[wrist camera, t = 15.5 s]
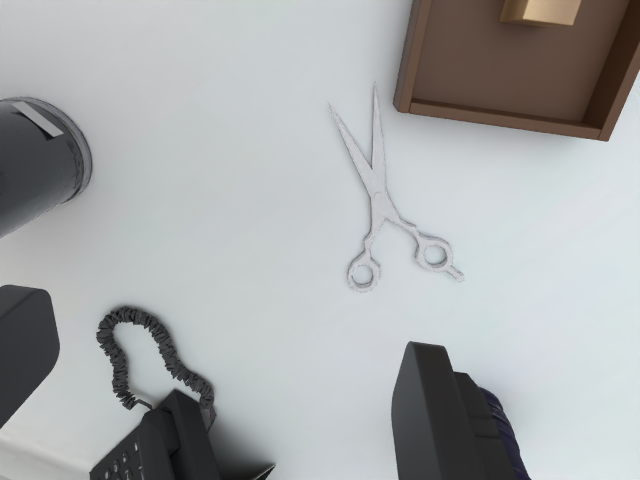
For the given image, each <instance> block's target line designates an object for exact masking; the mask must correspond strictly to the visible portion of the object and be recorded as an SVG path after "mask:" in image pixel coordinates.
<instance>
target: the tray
mask: <svg viewBox="0 0 640 480" xmlns="http://www.w3.org/2000/svg"><path fill="white" fill-rule="evenodd" d="M504 3H505V0H413V4H412V9H411V14H410V19H409V24H408V29H407V34H406V39H405V44H404V49H403V54H402V59H401V64H400V69H399V74H398V80H397V85H396V90H395V95H394V100H393V105H394V107H395V108H396V109H397V111H398V112H402V113H410V114H416V115H423V116H430V117H437V118H444V119H451V120H459V121H466V122H473V123H480V124H487V125H494V126H501V127H508V128H515V129H522V130H529V131H536V132H543V133H550V134H557V135H564V136H571V137H579V138H586V139H593V140H599V141H606V142H607V141H609V138H610V136H611V134H612V131H613V129H614V127H615V124H616V122H617V120H618V118H619V115H620V113H621V111H622V108H623V106H624V104H625V102H626V99H627V97H628V95H629V92H630V90H631V88H632V86H633V83H634V81H635V79H636V76H637V74H638V72H639V70H640V0H581V3H580V6H579V9H578V12H577V15H576V17H575V20H574V23H573V25H572V26H565V27H546V28H540V27H533V26H526V25H519V24H512V23H505V22H500V17H501V13H502V10H503V6H504Z"/></svg>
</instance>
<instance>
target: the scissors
mask: <svg viewBox="0 0 640 480" xmlns="http://www.w3.org/2000/svg"><path fill="white" fill-rule="evenodd" d="M327 102H328V101H327ZM328 104H329V103H328ZM329 107H330V109H331V111H332V113H333V116H334V118H335V120H336V122H337V125H338V127H339V129H340V132H341V134H342V136H343V138H344V141H345V143H346V145H347V147H348V150H349V152H350V154H351V156H352V159H353V161H354V163H355V166H356V168H357V170H358V172H359V174H360V176H361V178H362V180H363V182H364V184H365V186H366V189H367V191H368V193H369V195H370V196H371V208H372V224H371V227H372V229H371V231H370V234H369V235H368V236H367V237H366V238H365V239H364V242H365V251H364V252H363V253H362V254H361V255H360V256H359V257H358V258H356V259H355V260H354V261H353V262H352V264H351V266H350V268H349V270H348V280H349V284H350V285H351V287H352V288H353V289H355V290H356V291H358V292H361V293H365V292H368V291H371V290H372V289H373V288H374V287H376V286H377V284H378V281H379V278H380V265H378V264H377V263H376V262H375V261H374V260H373V259H371V258H370V257H371V254H370V246H371V243H372V241H373V239H374V237H375V235H376V233H377V231H378V230H379V229H380V227H381V226H382V224H383V222H384V220H385V217H386V218H387V219H389V220H391V221H393V222H394V223H396V224H398V225H399V226H401V227H403V228H405V229H407V230H408V231H410V232H411V233H412V234H413V235H414V236H415V237H416V238H417V241H418V244H419V246H418V250H417V253H416V255H415V257H416V260H417V261H418V263H419V264H420V265H421V266H422V267H423V268H425V269H427V270H429V271H431V272H441V271H445V270H446V271H447V272H449V273H450V274H452V275H453V276H455V278H456V279H457V280H458V281H459V282H463V281H464V280H465V279H464V276H463V274H462V273H461V272H458V271H457V270H456V269H455V268H454V267H453V266H451V264H452V263H453V253H452V251H451V249H450V246H449V244H448V243H447V242H445V241H444V240H442V239H440V238H436V237H426V236H424V235H422V234H420V233H418V231H417V228H416V225H413V224H408V223H406V222H405V221H403V220H401V219H400V217H399V215H398V213H397V211H396V209H395V207H394V206H393V204H392V202H391V200H390V198H389V197H388V195H387V193H386V179H385V162H384V150H383V141H382V133H381V124H380V114H379V104H378V97H377V90H376V83H375V94H374V119H373V153H372V169H371V167H370V166H369V164H368V163H367V161H366V159H365V158H364V156H363V155H362V153H361V152H360V150H359V148H358V147H357V145H356V144H355V142H354V141H353V139H352V138H351V136H350V135H349V133H348V132H347V130H346V129H345V127H344V126H343V124H342V123H341V121H340V120H339V118H338V117H337V115H336V114H335V112H334V111H333V109H332V107H331V106H330V104H329ZM433 245H438V246H440V247H442V248H443V249H445V251H446V259H445V260H444V261H443V262H442V263H441V264H437V265H431V264H429V263H428V262H426V260H425V259H424V254H423V253H424V251H425V250H426V248H427V247H428V246H433ZM363 264H365V265H368V266H369V267H370V268H371V269H372V270H373V278H372V280H371V282H370V283H369V284H365V285H359V284H357V283H356V282H355V281H353V278H352V273H353V272H354V270H355V268H356V267H357V266H360V265H363Z"/></svg>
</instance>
